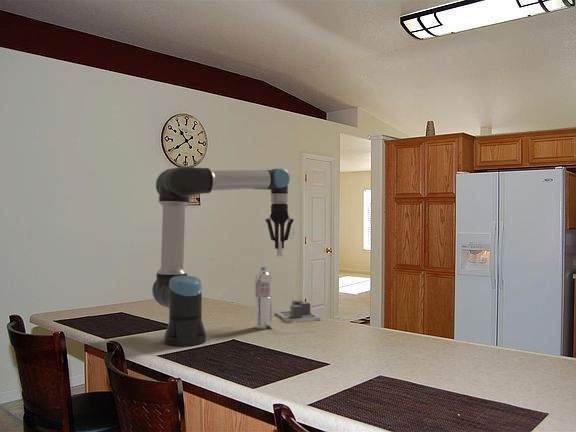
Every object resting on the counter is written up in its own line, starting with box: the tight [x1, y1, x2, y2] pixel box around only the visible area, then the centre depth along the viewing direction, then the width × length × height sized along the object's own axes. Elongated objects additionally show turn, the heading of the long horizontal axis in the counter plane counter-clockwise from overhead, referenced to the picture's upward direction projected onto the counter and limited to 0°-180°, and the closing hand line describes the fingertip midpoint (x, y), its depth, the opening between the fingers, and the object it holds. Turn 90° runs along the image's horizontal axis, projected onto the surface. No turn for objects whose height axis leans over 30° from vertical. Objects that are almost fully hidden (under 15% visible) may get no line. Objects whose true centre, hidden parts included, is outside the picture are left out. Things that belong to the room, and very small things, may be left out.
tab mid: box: [299, 301, 311, 315], centre depth 221 cm, size 4×4×6 cm
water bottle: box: [254, 266, 273, 330], centre depth 205 cm, size 7×7×25 cm
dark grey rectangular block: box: [289, 304, 302, 319], centre depth 214 cm, size 4×4×6 cm
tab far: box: [291, 299, 304, 305], centre depth 227 cm, size 4×4×6 cm
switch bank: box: [274, 310, 321, 323], centre depth 220 cm, size 19×15×3 cm
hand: (279, 256), depth 222 cm, fingers closed
